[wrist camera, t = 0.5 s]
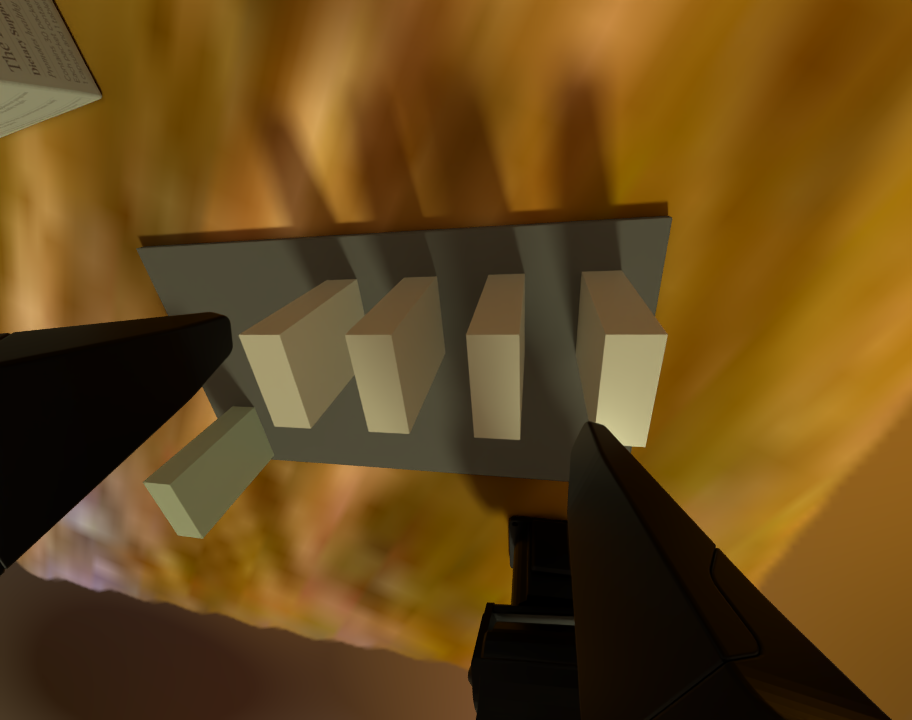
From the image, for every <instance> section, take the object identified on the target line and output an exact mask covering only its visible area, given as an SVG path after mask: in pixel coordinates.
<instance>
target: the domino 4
mask: <svg viewBox="0 0 912 720" xmlns="http://www.w3.org/2000/svg"><path fill="white" fill-rule="evenodd" d="M466 341H467V353H468V366H469V378H470V391H471V403H472V416H473V428H474V438H492V439H510V440H520V432H521V413H522V395H523V376H524V357H525V274H496V275H488V278H487V280H486V283H485V286H484V288H483V291H482V294H481V296H480V299H479V302H478V304H477V307H476V310H475V312H474V315H473V318H472V320H471V323H470V326H469V328H468V331H467V333H466Z"/></svg>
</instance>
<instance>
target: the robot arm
mask: <svg viewBox="0 0 912 720" xmlns="http://www.w3.org/2000/svg"><path fill="white" fill-rule="evenodd" d="M232 349H233V339H232V330H231V322H230V319H229V318H228V317H227V316H225V315H221V314H218V313H215V312H203V313H193V314H184V315H174V316H165V317H155V318H146V319H136V320H127V321H117V322H108V323H98V324H89V325H79V326H70V327H60V328H51V329H41V330H32V331H22V332H14V333H12V334H9V333H3V334H0V576H1V575H2V574H3V573H4V572H5V569H7V568H9V567H10V566H11V565H12V564H13V563H14V562H15V561H16V560H18V559H19V558H20V557H21V556H22V555H23V554H24V553H25V552H26V551H27V550H28V549H29V548H30V547H32V546H33V545H34V544H35V543H36V542H37V541H38V540H39V539H40V538H41V537H42V536H43V535H45V534H46V533H47V532H48V531H49V530H50V529H51V528H52V527H53V526H54V525H55V524H56V523H57V522H59V521H60V520H61V519H62V518H63V517H64V516H65V515H66V514H67V513H68V512H69V511H70V510H72V509H73V508H74V507H75V506H76V505H77V504H78V503H79V502H80V501H81V500H82V499H83V498H84V497H86V496H87V495H88V494H89V493H90V492H91V491H92V490H93V489H94V488H95V487H96V486H97V485H99V484H100V483H101V482H102V481H103V480H104V479H105V478H106V477H107V476H108V475H109V474H110V473H111V472H113V471H114V470H115V469H116V468H117V467H118V466H119V465H120V464H121V463H122V462H123V461H124V460H126V459H127V458H128V457H129V456H130V455H131V454H132V453H133V452H134V451H135V450H136V449H137V448H138V447H140V446H141V445H142V444H143V443H144V442H145V441H146V440H147V439H148V438H149V437H150V436H151V435H153V434H154V433H155V432H156V431H157V430H158V429H159V428H160V427H161V426H162V425H163V424H164V423H166V422H167V421H168V420H169V419H170V418H171V417H172V416H173V415H174V414H175V413H176V412H177V411H178V410H180V409H181V408H182V407H183V406H184V405H185V404H186V403H187V402H188V401H189V400H190V399H191V398H192V397H193V396H194V395H195V394H196V393H197V392H198V390H199V389H200V388H201V387H202V386H203V385H204V384H205V383H206V381H207V380H208V379H209V378H210V377H211V376H212V375H213V373H214V372H215V371H216V370H217V369H218V368H219V367H220V366H221V364H222V363H223V362H224V361H225V360H226V359H227V358H228V356H229V355H230V354H231V352H232ZM567 515H568V521H561V520H551V519H540V518H530V517H519V516H512V517H510V519H509V544H510V567H511V568H513V579H512V597H511V605H504V604H495V603H488V602H487V604H486V608H485V612H484V613H483V616H482V620H481V624H480V628H479V633H478V637H477V641H476V645H475V649H474V653H473V658H472V662H471V666H470V669H469V671H468V680H469V682H470V684H471V685H472V689H473V701H474V706H475V710H476V712H477V716H476V720H892V719H890V718H889V717H888V716H887V715H886V714H885V713H884V712H883V711H882V710H881V709H880V708H879V707H878V706H877V705H876V704H875V703H873V702H872V701H871V700H870V699H869V698H868V697H867V696H866V695H865V694H864V693H863V692H862V691H861V690H860V689H859V688H858V687H857V686H856V685H855V684H854V683H853V682H852V681H851V680H850V679H849V678H848V677H847V676H846V675H844V674H843V672H841V671H840V670H839V669H838V668H837V667H836V666H835V665H834V664H833V663H832V662H831V661H830V660H829V659H828V658H827V657H826V656H825V655H824V654H823V653H822V652H821V651H820V650H819V649H818V648H817V647H816V646H815V645H814V644H813V643H812V642H810V640H808V639H807V638H806V637H805V636H804V635H803V634H802V633H801V632H800V631H799V630H798V629H797V628H796V627H795V626H794V625H793V624H792V623H791V622H790V621H789V620H788V619H787V618H786V617H785V616H784V615H783V614H782V613H781V612H780V611H779V610H778V609H777V608H776V607H775V606H774V605H773V604H772V603H771V602H770V601H769V600H768V599H767V598H766V597H765V596H764V595H763V594H762V593H761V592H760V591H759V590H758V589H757V588H756V587H755V586H754V585H753V584H752V583H751V582H750V581H749V580H748V579H747V578H746V577H745V576H744V575H743V573H742V572H741V571H740V570H739V569H738V568H737V567H736V566H735V565H734V564H733V563H732V562H731V561H730V560H729V559H728V558H727V556H726V555H725V554H724V553H723V552H722V551H721V550H720V549H719V548H716V545H715V544H714V543H713V541H712V540H711V539H710V538H709V537H708V536H707V535H706V534H705V533H704V532H703V531H702V530H701V529H700V527H699V526H698V525H697V524H696V523H695V522H694V521H693V520H692V519H691V518H690V517H689V516H688V515H687V513H686V512H685V511H684V510H683V509H682V508H681V507H680V506H679V505H678V504H677V503H676V502H675V501H674V499H673V498H672V497H671V496H670V495H669V494H668V493H667V492H666V491H665V490H664V489H663V488H662V487H661V485H660V484H659V483H658V482H657V481H656V480H655V479H654V478H653V477H652V476H651V475H650V474H649V473H648V472H647V470H646V469H645V468H644V467H643V466H642V465H641V464H640V463H639V462H638V461H637V460H636V459H635V458H634V456H633V455H632V454H631V453H630V452H629V451H628V450H627V449H626V448H625V447H624V446H623V445H622V444H621V442H620V441H619V440H618V439H617V438H616V437H615V436H614V435H613V434H612V433H611V432H610V431H609V430H608V428H607V427H606V426H604V425H602V424H599V423H595V422H592V421H587V422H585V423H584V425H583V426H582V428H581V430H580V432H579V434H578V436H577V438H576V440H575V442H574V444H573V447H572V450H571V454H570V471H569V489H568V510H567Z"/></svg>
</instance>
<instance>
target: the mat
mask: <svg viewBox="0 0 912 720" xmlns="http://www.w3.org/2000/svg"><path fill="white" fill-rule="evenodd" d="M671 222H672V217H670V216H656V217H639V218H622V219H605V220H588V221H571V222H554V223H537V224H520V225H503V226H486V227H469V228H452V229H435V230H418V231H401V232H384V233H367V234H350V235H333V236H316V237H299V238H282V239H265V240H248V241H231V242H214V243H197V244H180V245H163V246H146V247H141V248H137V251H138V253H139V255H140V257H141V259H142V262H143V264H144V266H145V268H146V270H147V272H148V274H149V276H150V278H151V280H152V282H153V285H154V287H155V289H156V291H157V293H158V295H159V297H160V299H161V301H162V303H163V305H164V307H165V310H166V312H167V314H168V316H174V315H184V314H193V313H203V312H215V313H218V314H221V315H225V316H227V317H228V318H229V319H230V322H231V330H232V339H233V349H232V352H231V354H230V355H229V356H228V358H227V359H226V360H225V361H224V362H223V363H222V364H221V366H220V367H219V368H218V369H217V370H216V371H215V372H214V373H213V375H212V376H211V377H210V378H209V379H208V380H207V381H206V383H205V384H204V385H203V386H202V387H203V389H204V391H205V393H206V395H207V397H208V399H209V401H210V404H211V406H212V408H213V410H214V412H215V414H216V416H217V418H219V417H221V416H222V415H223V414H224V413H225V412H227V411H228V410H229V409H230V408H231V407H232V406H236V407H254V408H255V410H256V412H257V415H258V417H259V420H260V422H261V424H262V427H263V429H264V432H265V434H266V436H267V439H268V441H269V444H270V446H271V449H272V451H273V453H274V456H273V457H272V458H271V459H274V460H287V461H301V462H314V463H328V464H341V465H354V466H368V467H381V468H394V469H408V470H421V471H434V472H448V473H461V474H474V475H488V476H501V477H515V478H528V479H541V480H555V481H568V482H569V471H570V454H571V450H572V447H573V444H574V442H575V440H576V438H577V436H578V434H579V432H580V430H581V428H582V426H583V425H584V423H585V422H587V421H589V420H588V415H587V410H586V405H585V399H584V394H583V389H582V384H581V379H580V374H579V369H578V364H577V359H576V342H577V329H578V315H579V302H580V288H581V275H582V272H587V271H618V270H622V272H623V273H624V274H625V276H626V277H627V279H628V280H629V281H630V283H631V284H632V286H633V287H634V288H635V290H636V291H637V293H638V294H639V295H640V297H641V298H642V300H643V301H644V302H645V304H646V305H647V306H648V308H649V309H650V311H651V312H652V313H653V315H654V316H655V312H656V307H657V301H658V295H659V290H660V284H661V278H662V273H663V267H664V261H665V256H666V250H667V244H668V239H669V233H670V227H671ZM496 274H525V357H524V376H523V395H522V413H521V432H520V440H510V439H492V438H474V428H473V416H472V403H471V391H470V378H469V366H468V353H467V341H466V333H467V331H468V328H469V326H470V323H471V320H472V318H473V315H474V312H475V310H476V307H477V304H478V302H479V299H480V296H481V294H482V291H483V288H484V286H485V283H486V280H487V278H488V275H496ZM435 276H437V281H438V290H439V299H440V308H441V317H442V326H443V335H444V344H445V355H444V357H443V360H442V362H441V364H440V366H439V369H438V371H437V373H436V375H435V378H434V380H433V382H432V384H431V387H430V389H429V391H428V393H427V396H426V398H425V400H424V402H423V405H422V407H421V409H420V411H419V414H418V416H417V418H416V420H415V423H414V425H413V427H412V429H411V432H410V434H401V433H383V432H369V431H368V427H367V423H366V419H365V415H364V411H363V406H362V402H361V398H360V394H359V390H358V386H357V382H356V378H355V375H354V376H353V377H352V378H351V380H350V381H349V382H348V383H347V385H346V386H345V387H344V388H343V390H342V391H341V392H340V393H339V395H338V396H337V397H336V398H335V400H334V401H333V402H332V403H331V404H330V406H329V407H328V408H327V409H326V411H325V412H324V413H323V414H322V416H321V417H320V418H319V419H318V421H317V422H316V423H315V424H314V426H313V427H312V428H311V429H310V428H292V427H275V426H274V424H273V421H272V419H271V416H270V413H269V411H268V408H267V406H266V403H265V401H264V398H263V396H262V393H261V391H260V388H259V386H258V383H257V381H256V378H255V376H254V373H253V370H252V368H251V365H250V363H249V360H248V358H247V355H246V353H245V350H244V348H243V345H242V343H241V340H240V338H239V334H241V333H242V332H244V331H246V330H247V329H249V328H250V327H252V326H254V325H255V324H257V323H258V322H260V321H262V320H263V319H265V318H266V317H268V316H270V315H271V314H273V313H275V312H276V311H278V310H279V309H281V308H283V307H284V306H286V305H287V304H289V303H291V302H292V301H294V300H295V299H297V298H299V297H300V296H302V295H304V294H305V293H307V292H308V291H310V290H312V289H313V288H315V287H316V286H318V285H320V284H321V283H323V282H324V281H326V280H344V279H357V282H358V287H359V291H360V296H361V301H362V305H363V310H364V315H366V314H367V313H368V312H369V311H370V310H371V309H372V308H373V307H374V306H375V305H376V304H377V303H378V302H379V301H380V300H381V299H382V298H383V297H384V296H385V295H386V294H388V293H389V292H390V291H391V290H392V289H393V288H394V287H395V286H396V285H397V284H398V283H399V282H400V281H401V280H402V279H403V278H405V277H435ZM624 447H625V448H626V449H627V450H628V451H629V452H630V453H631V448H632V446H624Z"/></svg>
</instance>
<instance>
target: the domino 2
mask: <svg viewBox="0 0 912 720" xmlns="http://www.w3.org/2000/svg"><path fill="white" fill-rule="evenodd" d="M364 316H365V315H364V310H363V305H362V301H361V296H360V291H359V287H358V282H357V279H344V280H326V281H324V282H323V283H321V284H320V285H318V286H316V287H315V288H313V289H312V290H310V291H308V292H307V293H305V294H304V295H302V296H300V297H299V298H297V299H295V300H294V301H292V302H291V303H289V304H287V305H286V306H284V307H283V308H281V309H279V310H278V311H276V312H275V313H273V314H271V315H270V316H268V317H266V318H265V319H263V320H262V321H260V322H258V323H257V324H255V325H254V326H252V327H250V328H249V329H247V330H246V331H244V332H242V333H241V334H239V338H240V340H241V343H242V345H243V348H244V350H245V353H246V355H247V358H248V360H249V363H250V365H251V368H252V370H253V373H254V376H255V378H256V381H257V383H258V386H259V388H260V391H261V393H262V396H263V398H264V401H265V403H266V406H267V408H268V411H269V413H270V416H271V419H272V421H273V424H274V426H275V427H292V428H310V429H311V428H312V427H313V426H314V424H315V423H316V422H317V421H318V419H319V418H320V417H321V416H322V414H323V413H324V412H325V411H326V409H327V408H328V407H329V406H330V404H331V403H332V402H333V401H334V400H335V398H336V397H337V396H338V395H339V393H340V392H341V391H342V390H343V388H344V387H345V386H346V385H347V383H348V382H349V381H350V380H351V378H352V377H353V376H354V375H355V374H354V370H353V366H352V362H351V358H350V354H349V350H348V346H347V342H346V338H345V334H346V333H347V332H348V331H349V330H350V329H351V328H352V327H353V326H354V325H355V324H356V323H357V322H359V321H360V320H361V319H362V318H363V317H364Z"/></svg>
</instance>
